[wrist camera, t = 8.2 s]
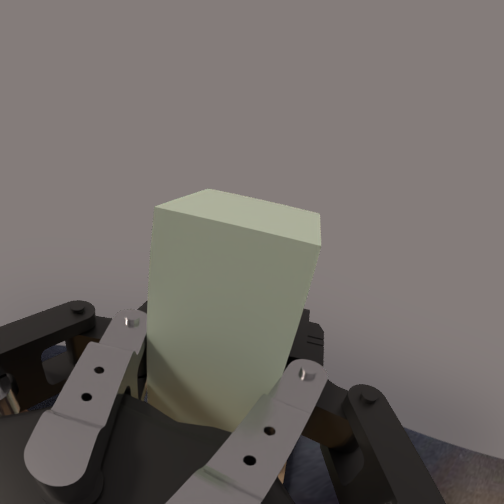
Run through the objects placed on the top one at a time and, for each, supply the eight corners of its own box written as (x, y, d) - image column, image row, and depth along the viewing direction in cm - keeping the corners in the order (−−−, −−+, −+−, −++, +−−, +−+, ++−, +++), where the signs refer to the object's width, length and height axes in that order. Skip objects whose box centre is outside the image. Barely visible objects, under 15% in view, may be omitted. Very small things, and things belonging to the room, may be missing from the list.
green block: (152, 469, 11) (154, 207, 7) (182, 415, 15) (208, 188, 11) (235, 497, 11) (321, 246, 7) (253, 437, 14) (319, 213, 10)
